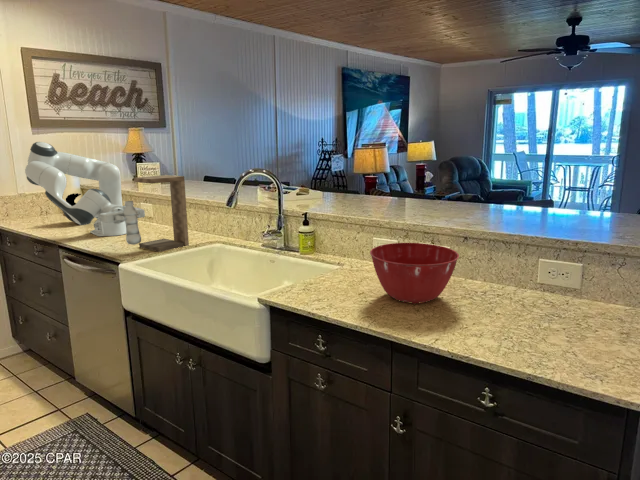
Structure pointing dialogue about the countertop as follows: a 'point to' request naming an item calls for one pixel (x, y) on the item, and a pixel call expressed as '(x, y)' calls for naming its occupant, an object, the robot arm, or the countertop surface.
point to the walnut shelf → (177, 213)
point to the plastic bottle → (131, 223)
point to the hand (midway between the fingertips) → (132, 217)
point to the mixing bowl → (413, 270)
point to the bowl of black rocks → (71, 203)
